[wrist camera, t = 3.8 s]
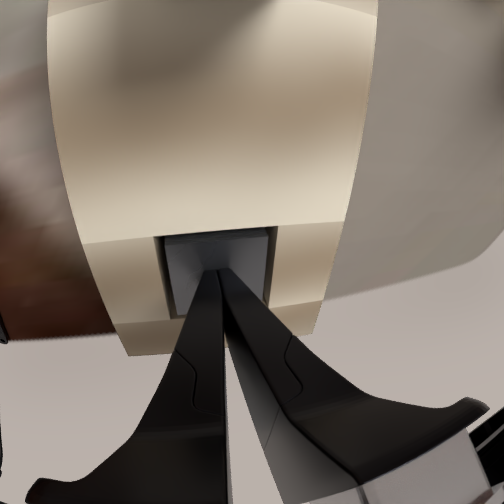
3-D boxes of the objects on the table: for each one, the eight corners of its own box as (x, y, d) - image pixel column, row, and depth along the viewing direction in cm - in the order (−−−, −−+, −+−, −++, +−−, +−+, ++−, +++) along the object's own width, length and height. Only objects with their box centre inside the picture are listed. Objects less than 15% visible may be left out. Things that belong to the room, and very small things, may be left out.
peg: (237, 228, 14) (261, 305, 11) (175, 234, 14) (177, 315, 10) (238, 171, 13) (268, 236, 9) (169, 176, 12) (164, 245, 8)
